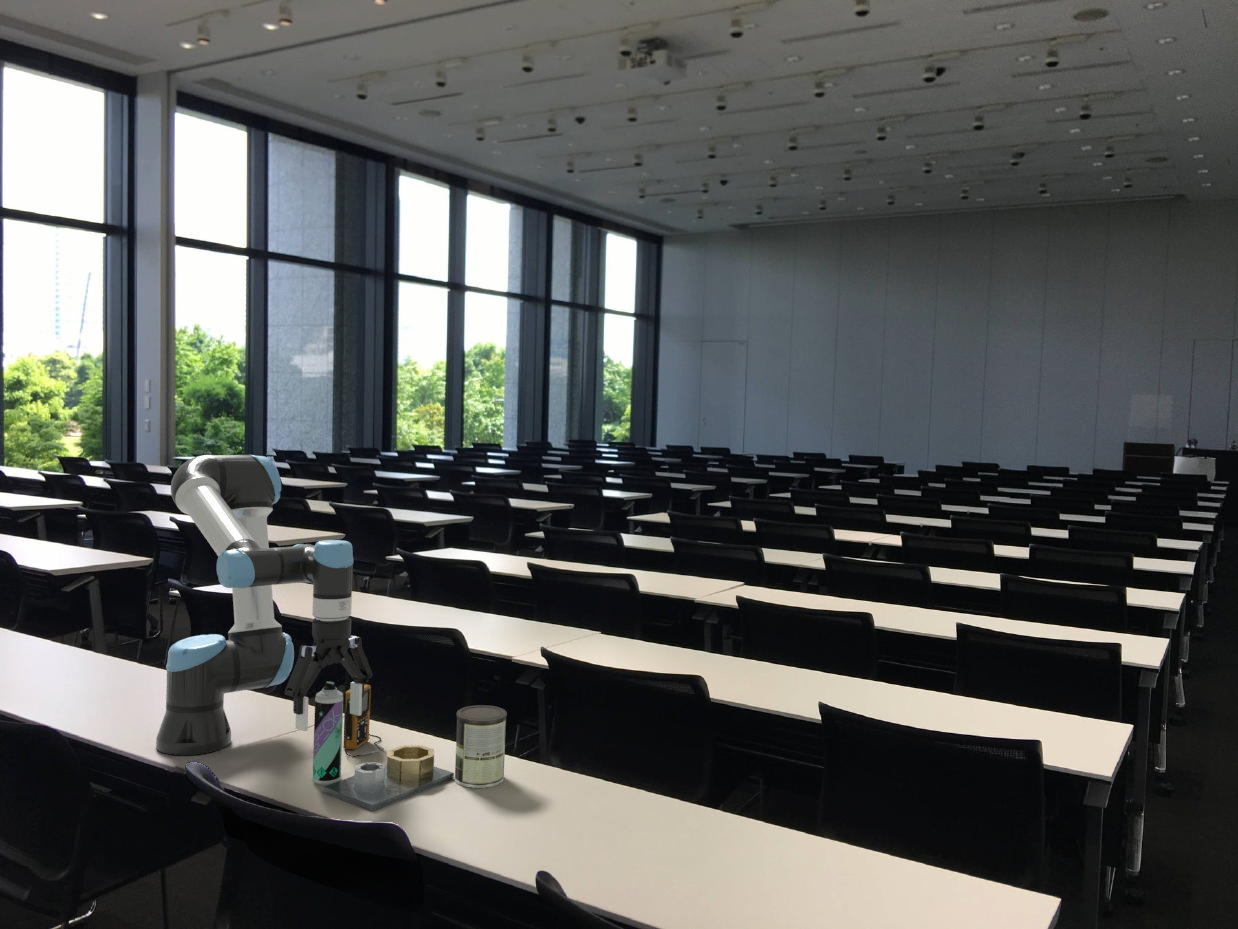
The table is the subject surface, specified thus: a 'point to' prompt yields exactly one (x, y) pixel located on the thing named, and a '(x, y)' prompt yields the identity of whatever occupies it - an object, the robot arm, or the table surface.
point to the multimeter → (357, 722)
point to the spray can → (328, 735)
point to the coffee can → (480, 746)
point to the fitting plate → (390, 778)
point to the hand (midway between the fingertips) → (329, 722)
